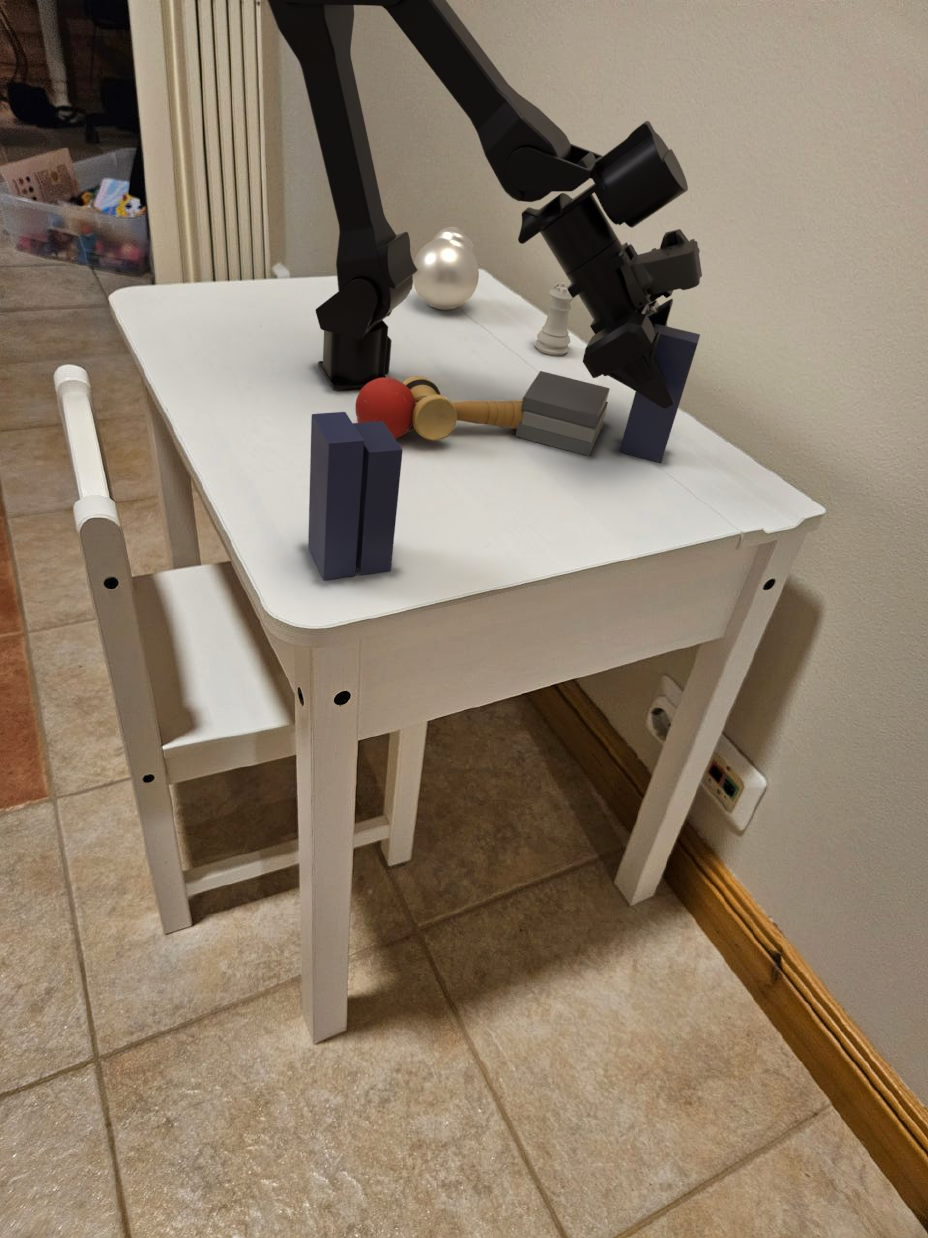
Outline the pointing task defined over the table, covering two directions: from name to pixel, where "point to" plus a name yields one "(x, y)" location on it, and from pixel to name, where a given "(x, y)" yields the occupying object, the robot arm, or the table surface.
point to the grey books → (563, 412)
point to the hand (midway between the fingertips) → (673, 392)
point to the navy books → (352, 495)
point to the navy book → (646, 417)
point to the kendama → (427, 408)
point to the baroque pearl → (446, 270)
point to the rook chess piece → (556, 323)
